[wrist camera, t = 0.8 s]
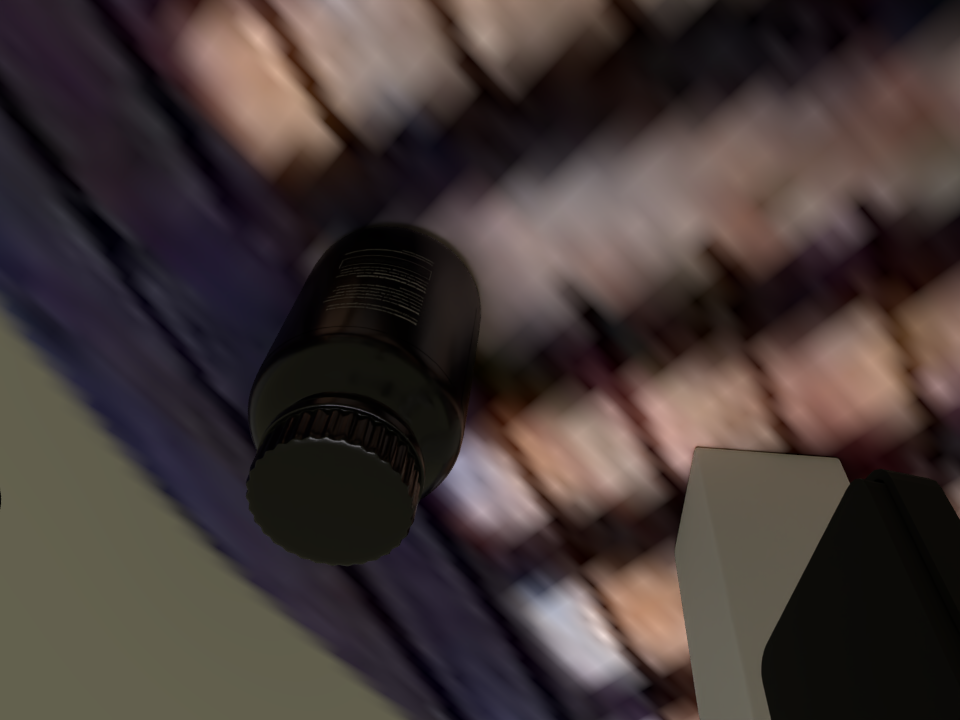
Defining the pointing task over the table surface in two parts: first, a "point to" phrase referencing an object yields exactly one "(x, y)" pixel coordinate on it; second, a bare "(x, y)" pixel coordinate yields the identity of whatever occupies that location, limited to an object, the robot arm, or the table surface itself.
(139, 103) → the table surface
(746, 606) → the milk
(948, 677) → the robot arm
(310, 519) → the supplement bottle
